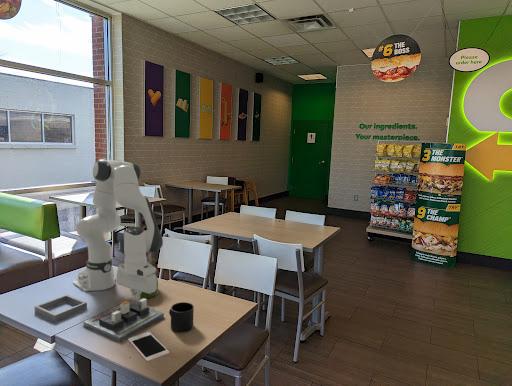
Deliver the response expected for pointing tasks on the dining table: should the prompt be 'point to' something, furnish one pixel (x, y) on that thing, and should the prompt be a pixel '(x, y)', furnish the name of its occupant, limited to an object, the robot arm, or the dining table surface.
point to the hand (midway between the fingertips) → (136, 298)
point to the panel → (130, 331)
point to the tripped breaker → (124, 307)
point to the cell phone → (148, 346)
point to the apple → (146, 295)
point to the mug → (181, 317)
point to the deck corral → (54, 317)
